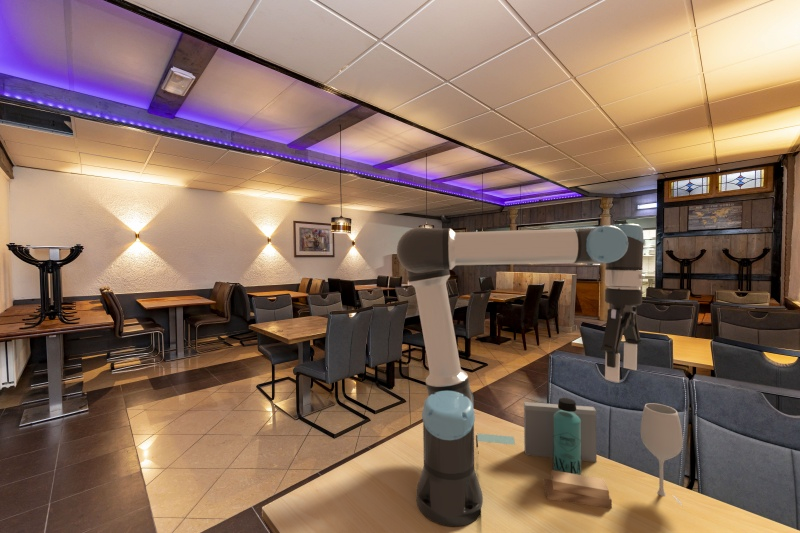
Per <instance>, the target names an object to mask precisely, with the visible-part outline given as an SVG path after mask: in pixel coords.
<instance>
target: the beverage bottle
mask: <svg viewBox="0 0 800 533" xmlns="http://www.w3.org/2000/svg"><path fill="white" fill-rule="evenodd" d="M576 406H577V405H576V400H574V399H572V398H568V397H560V398H559V399H558V408H559V409H561V410H559V411H557V412H556V413H555V414H554V415H553V417H554V436H553V458H552V465H553V466H552V467H553V470H554V471H560V472H566V473H572V474H578V475H582V461H581V453H582V452H581V448H582V447H581V419H580V418H579V417H578V416H577V415H576V414H575V413H574V411H576Z"/></svg>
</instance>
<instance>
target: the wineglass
mask: <svg viewBox="0 0 800 533" xmlns="http://www.w3.org/2000/svg"><path fill="white" fill-rule="evenodd" d="M640 438H641V441H642V443H643V445H644V446H645V448H646V449H647V450H648V451H649V452H650V453H651V454H652V455H653V456H654V457H655V458H656V459H657V460H658V466H659V470H658V472H659V473H658V474H659V477H658V478H659V483H658V484H659V488H658V490H657V491H656V493H657V494H658V495H659V496H660V497H661V496H662V497H667V494H666V493H665V490H664V464H665V461H667V460H671V459H672V458H675V457H676V456H678V455H679V454H680V453H681V452H682V449H683V444H684V440H683V439H684V438H683V430H682V425H681V421H680V417H679V413H678V410H676V409H675V408H674V407H671V406H668V405H665V404H662V403H653V402H652V403H645V404H644V407H643V410H642V415H641V422H640ZM671 496H672V497H673V498H674V499H675V501H676V502H677V503H678V504H679V505H680V506H681V507H683V504H682V502H681V501H680V499H679V498H677V496H675V495H674V494H671Z"/></svg>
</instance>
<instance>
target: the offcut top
mask: <svg viewBox="0 0 800 533" xmlns="http://www.w3.org/2000/svg"><path fill="white" fill-rule="evenodd" d="M551 480H552V483H553V489H554V490H559V491H564V492H569V493H574V494H580V495H585V496H591V497H596V498H601V499H607V500H609V496H610V490H609V487H608V485H607V482H606V481H605V478H600V477H594V476H589V475H583V474H581V475H578V474H572V473H566V472H560V471H554V469H552V470H551Z"/></svg>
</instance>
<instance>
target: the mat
mask: <svg viewBox="0 0 800 533" xmlns="http://www.w3.org/2000/svg"><path fill="white" fill-rule="evenodd" d="M476 439H477V442H483V443H494V444H504V445H513V446H514V445H516V443H515V439H514V436H510V435H501V434H500V435H499V434H487V433H477V434H476ZM477 454H478V455H479V452H477Z"/></svg>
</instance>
